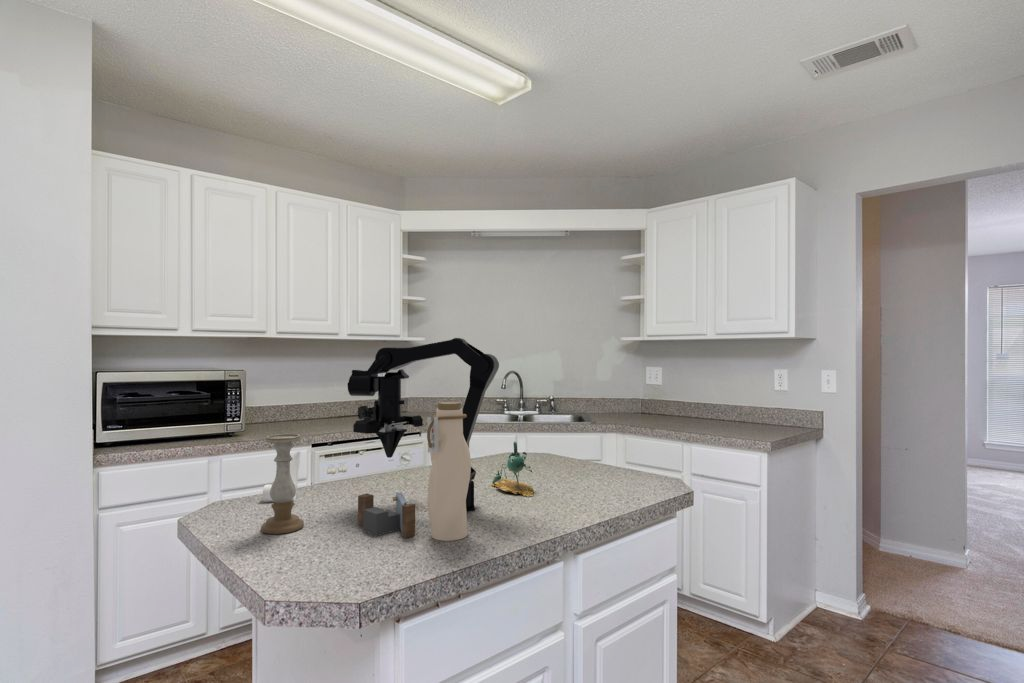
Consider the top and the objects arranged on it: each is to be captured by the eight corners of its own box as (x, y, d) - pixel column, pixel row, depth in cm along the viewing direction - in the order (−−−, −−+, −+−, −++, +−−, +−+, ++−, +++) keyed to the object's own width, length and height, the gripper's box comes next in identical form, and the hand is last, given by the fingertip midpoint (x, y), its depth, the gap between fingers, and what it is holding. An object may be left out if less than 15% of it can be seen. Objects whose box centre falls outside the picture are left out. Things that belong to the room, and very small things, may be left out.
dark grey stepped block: (399, 529, 121) (399, 508, 121) (376, 536, 117) (376, 514, 117) (386, 525, 125) (386, 504, 125) (363, 531, 120) (363, 509, 120)
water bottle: (449, 547, 110) (449, 406, 110) (415, 539, 115) (415, 403, 115) (479, 532, 118) (479, 402, 119) (446, 526, 123) (446, 400, 124)
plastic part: (262, 503, 143) (262, 458, 143) (272, 494, 152) (272, 451, 153) (293, 502, 144) (292, 457, 144) (301, 492, 154) (300, 450, 154)
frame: (415, 535, 117) (415, 502, 117) (406, 538, 115) (406, 505, 115) (366, 522, 126) (366, 492, 127) (357, 524, 124) (358, 494, 125)
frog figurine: (511, 482, 167) (515, 433, 166) (545, 502, 151) (549, 449, 150) (483, 485, 162) (487, 435, 161) (515, 506, 146) (519, 451, 145)
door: (407, 532, 118) (407, 504, 118) (397, 533, 117) (397, 505, 117) (401, 518, 128) (401, 492, 128) (392, 519, 127) (392, 493, 128)
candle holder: (260, 536, 116) (261, 440, 117) (261, 525, 124) (262, 434, 125) (305, 531, 120) (305, 437, 120) (302, 520, 128) (303, 432, 128)
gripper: (395, 393, 154) (395, 449, 154) (339, 397, 139) (339, 459, 139) (424, 394, 148) (424, 453, 147) (368, 399, 132) (368, 464, 132)
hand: (389, 457), depth 141 cm, fingers closed
